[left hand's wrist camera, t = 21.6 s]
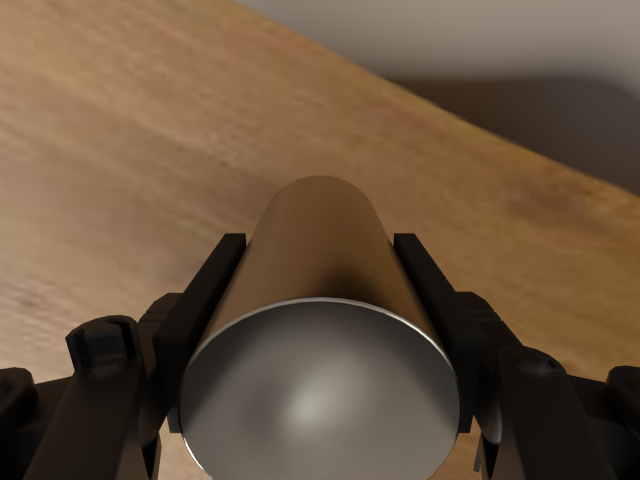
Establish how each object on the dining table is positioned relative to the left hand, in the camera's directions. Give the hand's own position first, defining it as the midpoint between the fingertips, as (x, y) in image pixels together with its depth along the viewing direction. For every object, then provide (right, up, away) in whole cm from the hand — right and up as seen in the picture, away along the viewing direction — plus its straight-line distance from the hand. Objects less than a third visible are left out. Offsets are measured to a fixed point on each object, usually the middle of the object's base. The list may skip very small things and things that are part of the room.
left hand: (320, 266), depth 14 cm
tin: (0, +1, +3) cm, 4 cm away
